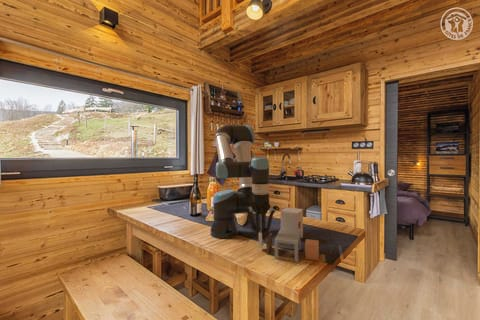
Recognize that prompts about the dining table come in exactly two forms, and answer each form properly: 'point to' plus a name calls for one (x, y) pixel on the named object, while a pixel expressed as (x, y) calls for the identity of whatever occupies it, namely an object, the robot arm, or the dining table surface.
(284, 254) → the sled
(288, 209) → the supplement box
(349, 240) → the dining table surface
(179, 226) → the dining table surface
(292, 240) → the tunnel
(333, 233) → the dining table surface
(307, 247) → the block
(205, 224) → the dining table surface
